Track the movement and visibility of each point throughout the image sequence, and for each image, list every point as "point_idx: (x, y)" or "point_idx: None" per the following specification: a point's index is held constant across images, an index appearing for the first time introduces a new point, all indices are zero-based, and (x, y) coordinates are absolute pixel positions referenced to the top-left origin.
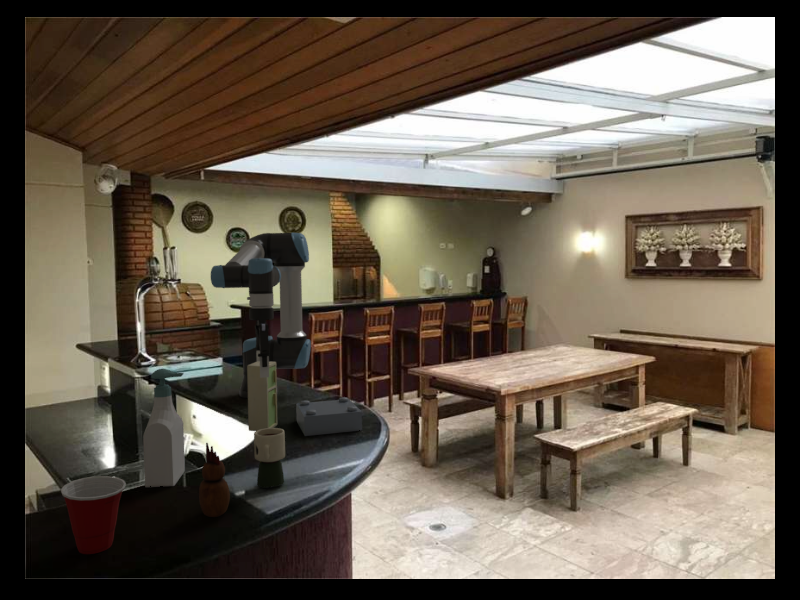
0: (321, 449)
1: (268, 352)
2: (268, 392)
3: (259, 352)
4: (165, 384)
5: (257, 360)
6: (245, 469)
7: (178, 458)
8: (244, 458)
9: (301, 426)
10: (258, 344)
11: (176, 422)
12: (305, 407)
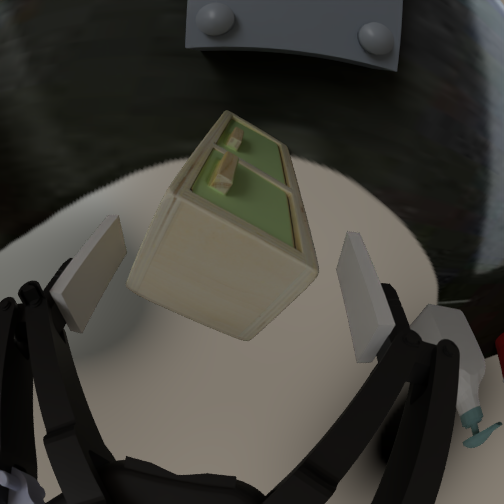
0: (476, 86)
1: (457, 355)
2: (283, 183)
3: (80, 312)
4: (470, 424)
5: (103, 286)
6: (478, 236)
7: (455, 327)
8: (440, 229)
9: (313, 56)
10: (71, 366)
11: (472, 368)
12: (268, 26)
